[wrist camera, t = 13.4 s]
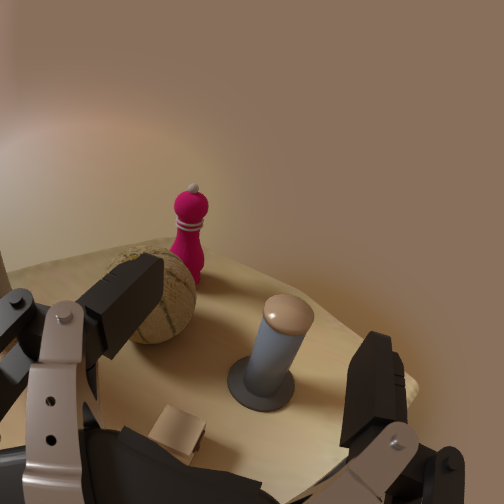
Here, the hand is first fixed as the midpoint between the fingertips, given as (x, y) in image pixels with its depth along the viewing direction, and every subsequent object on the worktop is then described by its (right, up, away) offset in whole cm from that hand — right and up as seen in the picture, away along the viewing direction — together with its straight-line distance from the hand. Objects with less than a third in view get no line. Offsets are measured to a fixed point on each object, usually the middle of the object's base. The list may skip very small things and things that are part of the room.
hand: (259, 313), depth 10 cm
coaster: (+1, -17, +30) cm, 35 cm away
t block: (-9, -22, +19) cm, 30 cm away
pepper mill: (-14, -3, +48) cm, 50 cm away
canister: (+1, -17, +30) cm, 34 cm away
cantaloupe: (-17, -10, +35) cm, 40 cm away
